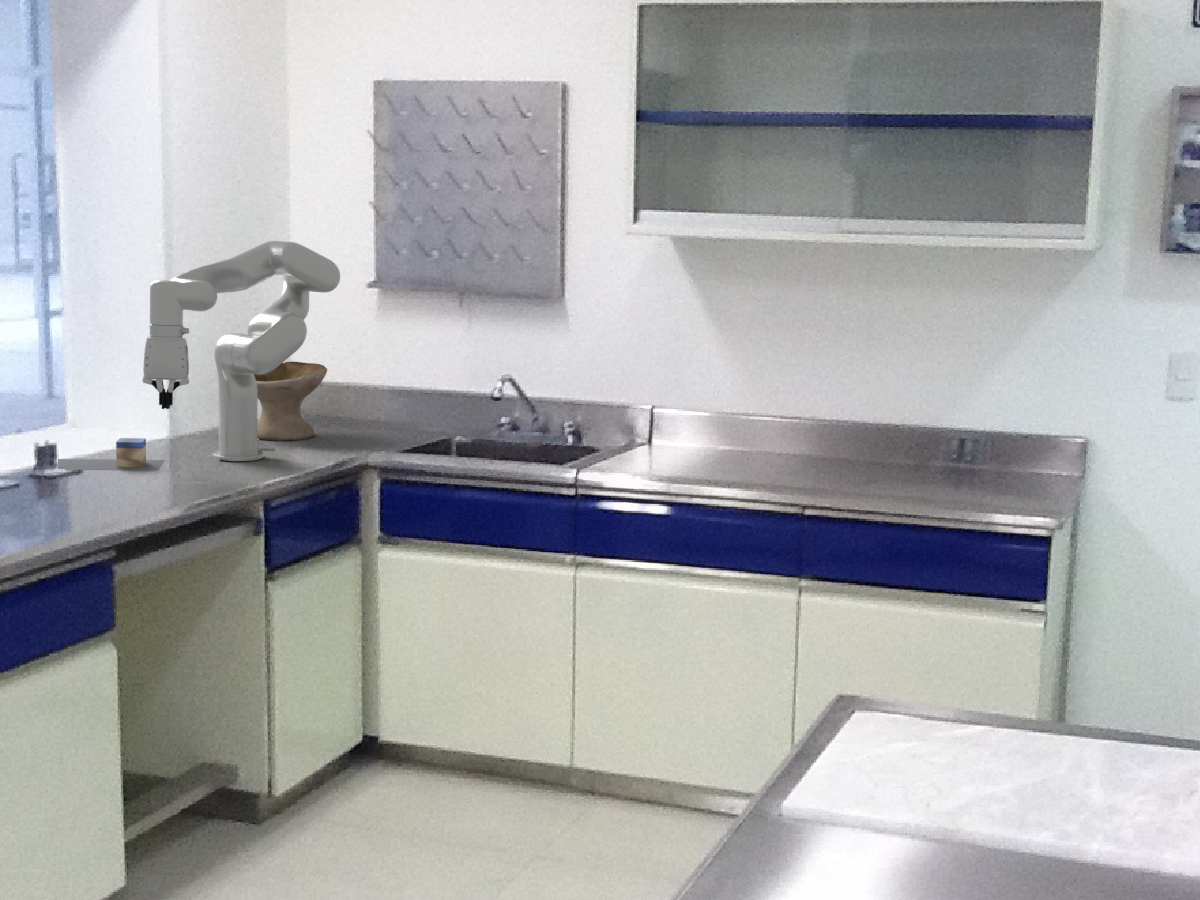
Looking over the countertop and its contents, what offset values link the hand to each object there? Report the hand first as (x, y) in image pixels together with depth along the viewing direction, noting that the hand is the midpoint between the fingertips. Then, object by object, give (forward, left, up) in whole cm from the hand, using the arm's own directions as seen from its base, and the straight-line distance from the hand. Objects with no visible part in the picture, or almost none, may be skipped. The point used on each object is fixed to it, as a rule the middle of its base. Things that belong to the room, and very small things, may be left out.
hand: (165, 408), depth 334 cm
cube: (+8, 0, -14) cm, 16 cm away
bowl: (-25, -50, -15) cm, 58 cm away
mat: (+14, 0, -15) cm, 20 cm away
